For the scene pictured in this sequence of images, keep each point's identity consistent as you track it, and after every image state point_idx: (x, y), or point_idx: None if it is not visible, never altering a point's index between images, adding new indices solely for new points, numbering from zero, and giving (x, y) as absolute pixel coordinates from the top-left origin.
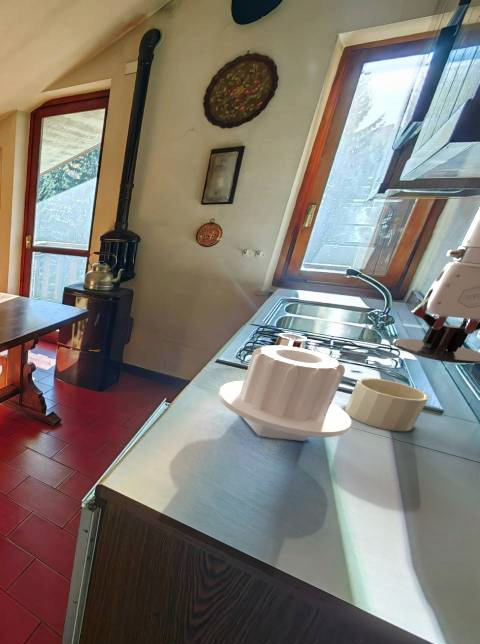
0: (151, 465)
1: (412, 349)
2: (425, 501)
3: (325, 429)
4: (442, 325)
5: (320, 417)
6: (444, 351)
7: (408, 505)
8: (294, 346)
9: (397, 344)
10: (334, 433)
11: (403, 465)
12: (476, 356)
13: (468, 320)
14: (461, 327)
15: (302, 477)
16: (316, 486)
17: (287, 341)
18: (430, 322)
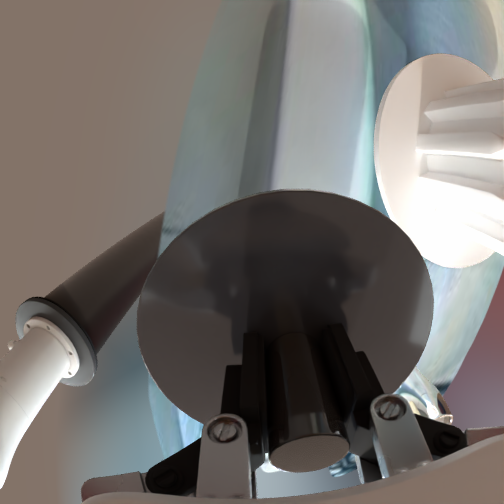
0: (497, 8)
1: (410, 268)
2: (259, 29)
3: (417, 70)
4: (376, 425)
5: (430, 106)
6: (283, 326)
7: (282, 8)
8: (432, 407)
9: (431, 318)
10: (403, 68)
11: (266, 129)
12: (173, 319)
13: (251, 497)
14: (255, 461)
15: (397, 19)
16: (381, 5)
17: (445, 410)
18: (426, 426)
